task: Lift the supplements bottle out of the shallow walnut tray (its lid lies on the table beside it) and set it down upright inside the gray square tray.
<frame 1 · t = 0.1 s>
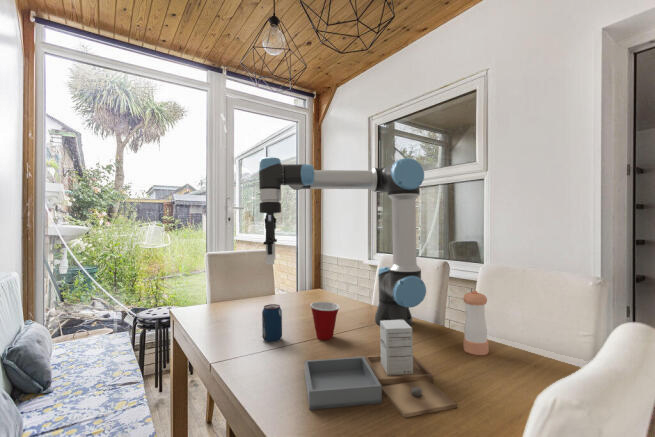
hand: (270, 261, 116), 28 cm above the table, tool pointing down, fingers open, 13 cm apart
gray square tray: (339, 388, 82), on the table
supplement box: (396, 369, 91), resting on walnut tray
pepper shaker: (476, 351, 105), on the table
walnut tray: (396, 371, 91), on the table
soda can: (272, 340, 117), on the table
tray lid: (416, 398, 77), on the table
plastic cup: (325, 338, 118), on the table
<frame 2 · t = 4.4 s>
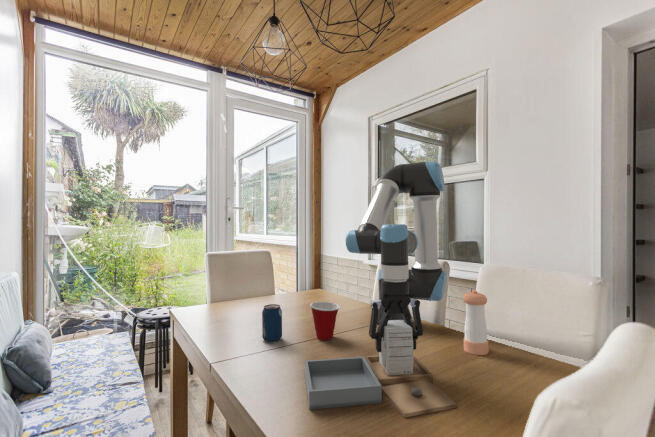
hand: (396, 362, 91), 3 cm above the table, tool pointing down, fingers closed on supplement box, 7 cm apart
supplement box: (396, 370, 91), resting on walnut tray, touching gripper
everything else where it was.
when the fingers open (5 cm above the table, at t = 10.4 s): supplement box drops 2 cm, resting on gray square tray.
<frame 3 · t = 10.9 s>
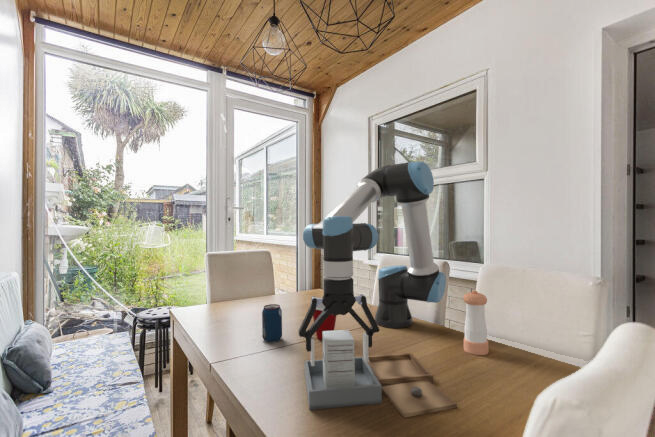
hand: (339, 362, 82), 7 cm above the table, tool pointing down, fingers open, 13 cm apart
supplement box: (338, 385, 82), point 1 cm above the table, touching gray square tray
everything else where it was.
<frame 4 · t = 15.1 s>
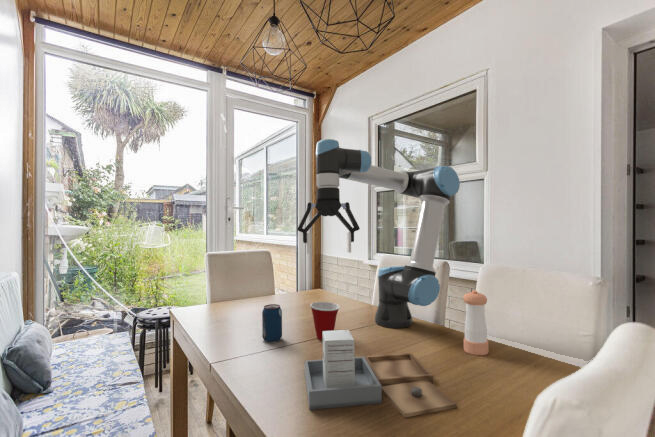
hand: (328, 252, 107), 32 cm above the table, tool pointing down, fingers open, 13 cm apart
nothing on the table moved.
at the end: supplement box inside the target area on the gray square tray (0.4 cm from its centre), point 0.6 cm above the gray square tray's base; supplement box tilted 0°; the gripper is holding nothing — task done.
